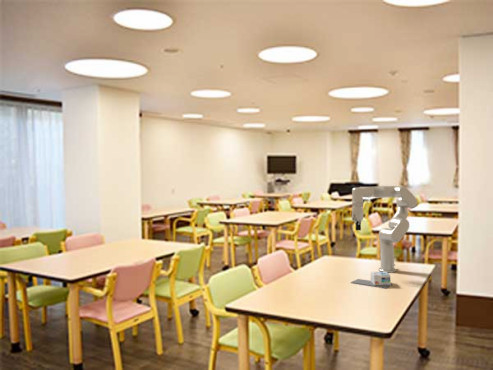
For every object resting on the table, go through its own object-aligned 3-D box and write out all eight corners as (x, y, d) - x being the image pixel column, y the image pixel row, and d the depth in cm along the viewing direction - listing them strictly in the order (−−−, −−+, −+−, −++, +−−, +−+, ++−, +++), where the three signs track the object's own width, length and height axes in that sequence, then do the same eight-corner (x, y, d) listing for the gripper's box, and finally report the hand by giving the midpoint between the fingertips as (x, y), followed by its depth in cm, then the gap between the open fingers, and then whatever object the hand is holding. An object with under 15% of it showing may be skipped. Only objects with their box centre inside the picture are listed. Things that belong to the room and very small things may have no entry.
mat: (357, 279, 287) (357, 278, 287) (392, 285, 271) (392, 284, 271) (350, 283, 279) (350, 282, 279) (386, 288, 263) (386, 287, 263)
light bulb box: (386, 271, 279) (390, 275, 268) (386, 281, 279) (391, 285, 268) (370, 271, 279) (373, 275, 268) (370, 281, 279) (374, 285, 269)
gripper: (357, 203, 309) (358, 228, 309) (348, 205, 297) (348, 231, 298) (367, 204, 304) (367, 229, 304) (358, 205, 292) (358, 231, 293)
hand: (358, 230), depth 301 cm, fingers closed
